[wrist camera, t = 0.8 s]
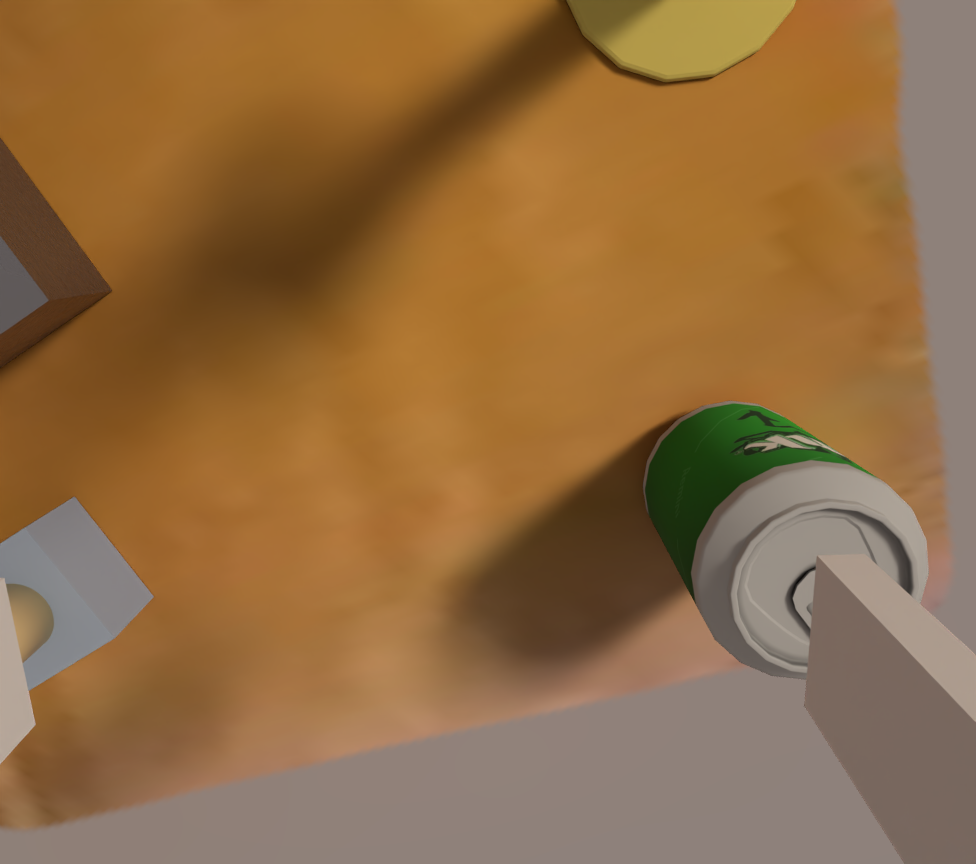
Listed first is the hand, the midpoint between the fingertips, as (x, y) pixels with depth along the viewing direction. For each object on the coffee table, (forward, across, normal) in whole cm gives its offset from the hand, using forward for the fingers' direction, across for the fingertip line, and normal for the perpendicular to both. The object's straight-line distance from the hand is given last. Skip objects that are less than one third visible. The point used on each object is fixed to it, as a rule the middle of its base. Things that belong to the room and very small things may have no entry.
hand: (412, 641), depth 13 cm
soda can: (+23, +12, -5) cm, 26 cm away
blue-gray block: (+23, -20, -10) cm, 32 cm away
